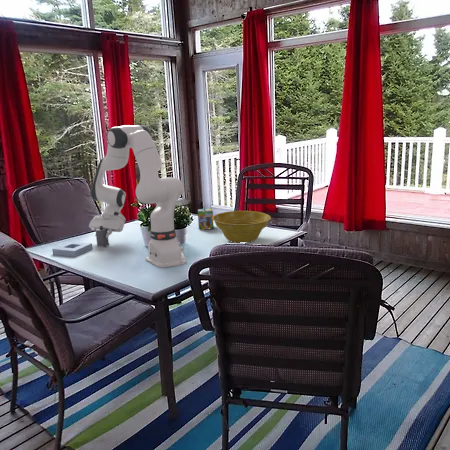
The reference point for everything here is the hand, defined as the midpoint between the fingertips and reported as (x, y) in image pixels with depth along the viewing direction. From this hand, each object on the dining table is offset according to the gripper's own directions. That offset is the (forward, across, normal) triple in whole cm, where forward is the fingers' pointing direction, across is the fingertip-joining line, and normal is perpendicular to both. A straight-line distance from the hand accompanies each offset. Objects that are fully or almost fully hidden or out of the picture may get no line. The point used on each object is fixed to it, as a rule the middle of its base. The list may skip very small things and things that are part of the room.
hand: (101, 236), depth 227 cm
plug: (+3, 0, +4) cm, 5 cm away
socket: (+13, -8, -6) cm, 17 cm away
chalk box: (-32, +40, +40) cm, 65 cm away
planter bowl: (-18, +71, +25) cm, 77 cm away
